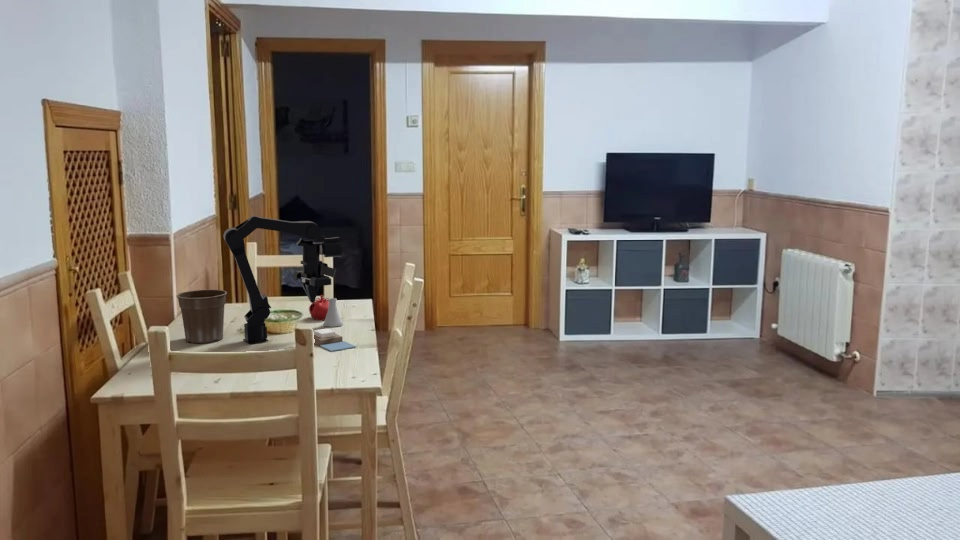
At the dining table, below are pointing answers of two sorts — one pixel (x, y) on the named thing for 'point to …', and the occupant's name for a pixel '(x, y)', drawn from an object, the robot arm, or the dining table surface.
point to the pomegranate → (319, 308)
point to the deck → (328, 340)
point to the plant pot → (202, 314)
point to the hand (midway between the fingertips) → (312, 302)
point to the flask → (332, 315)
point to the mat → (337, 346)
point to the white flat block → (324, 333)
